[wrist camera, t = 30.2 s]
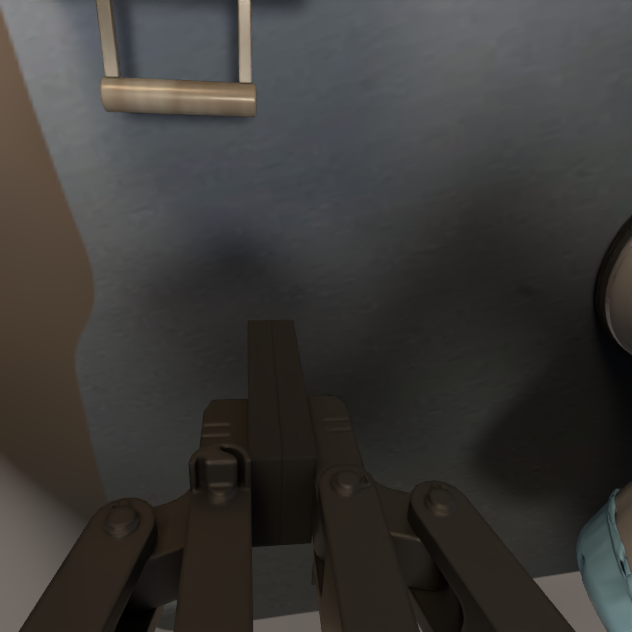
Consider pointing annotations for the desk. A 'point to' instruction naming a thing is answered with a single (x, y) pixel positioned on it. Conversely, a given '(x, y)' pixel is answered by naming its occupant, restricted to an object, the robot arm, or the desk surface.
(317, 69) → the desk surface
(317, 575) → the robot arm
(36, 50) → the desk surface
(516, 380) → the desk surface
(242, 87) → the drawer
